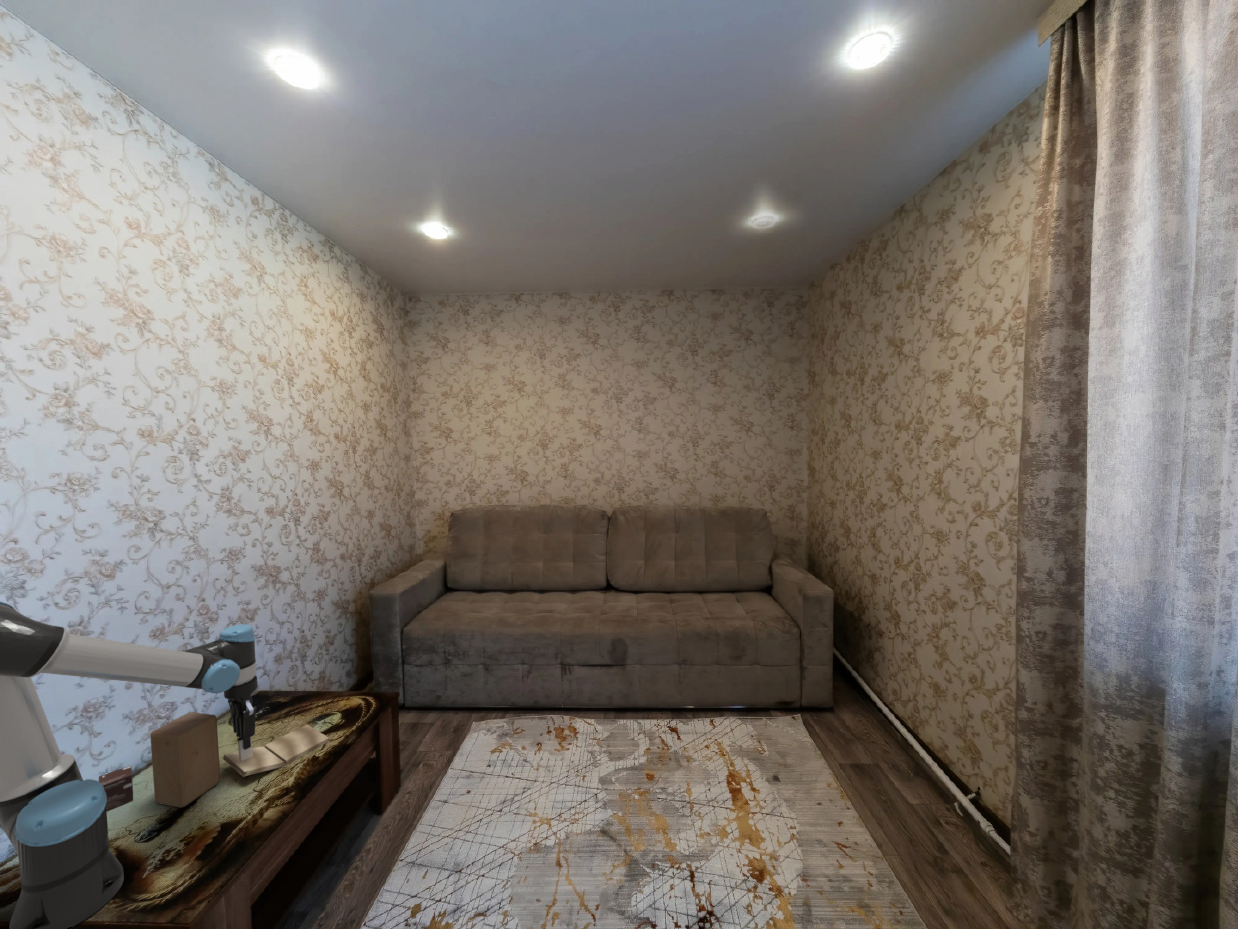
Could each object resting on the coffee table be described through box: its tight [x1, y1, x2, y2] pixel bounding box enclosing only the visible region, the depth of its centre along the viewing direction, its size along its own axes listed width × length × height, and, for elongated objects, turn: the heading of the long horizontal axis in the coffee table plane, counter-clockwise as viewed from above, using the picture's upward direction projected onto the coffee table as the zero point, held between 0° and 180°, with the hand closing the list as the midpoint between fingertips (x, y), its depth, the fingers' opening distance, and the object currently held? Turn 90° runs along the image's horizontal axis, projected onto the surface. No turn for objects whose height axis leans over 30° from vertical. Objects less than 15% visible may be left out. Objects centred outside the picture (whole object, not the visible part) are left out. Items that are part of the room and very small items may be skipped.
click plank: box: [222, 746, 285, 777], centre depth 135 cm, size 10×14×1 cm
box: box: [98, 765, 134, 812], centre depth 122 cm, size 6×6×7 cm
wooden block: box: [149, 711, 221, 808], centre depth 125 cm, size 10×10×20 cm
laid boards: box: [264, 724, 330, 765], centre depth 145 cm, size 12×14×1 cm
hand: (246, 757), depth 133 cm, fingers closed
